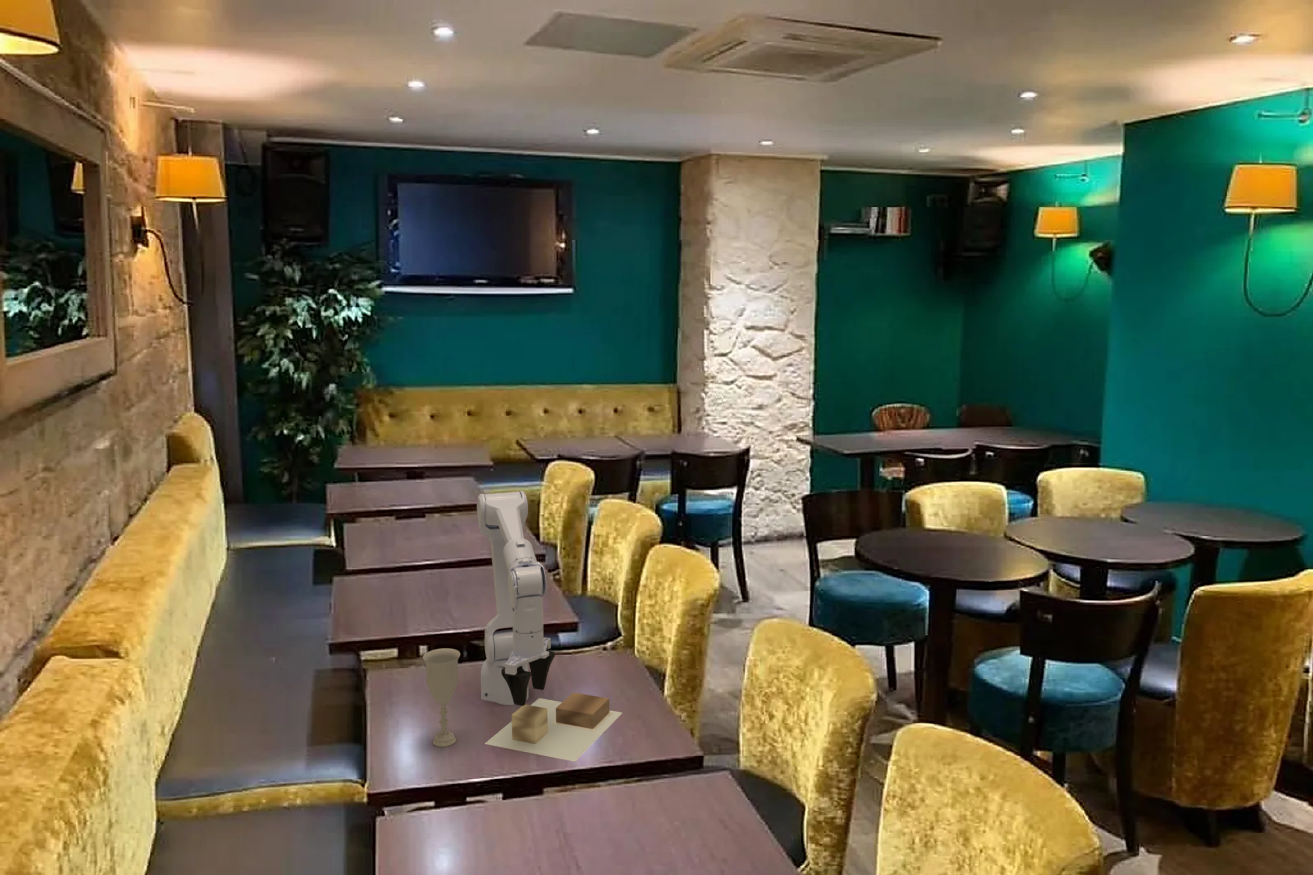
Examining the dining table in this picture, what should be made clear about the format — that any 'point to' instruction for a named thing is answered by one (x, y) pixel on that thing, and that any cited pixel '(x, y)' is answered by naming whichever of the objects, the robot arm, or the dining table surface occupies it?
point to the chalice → (442, 686)
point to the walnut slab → (582, 710)
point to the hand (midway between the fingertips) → (529, 696)
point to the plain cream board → (556, 735)
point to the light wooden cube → (529, 724)
